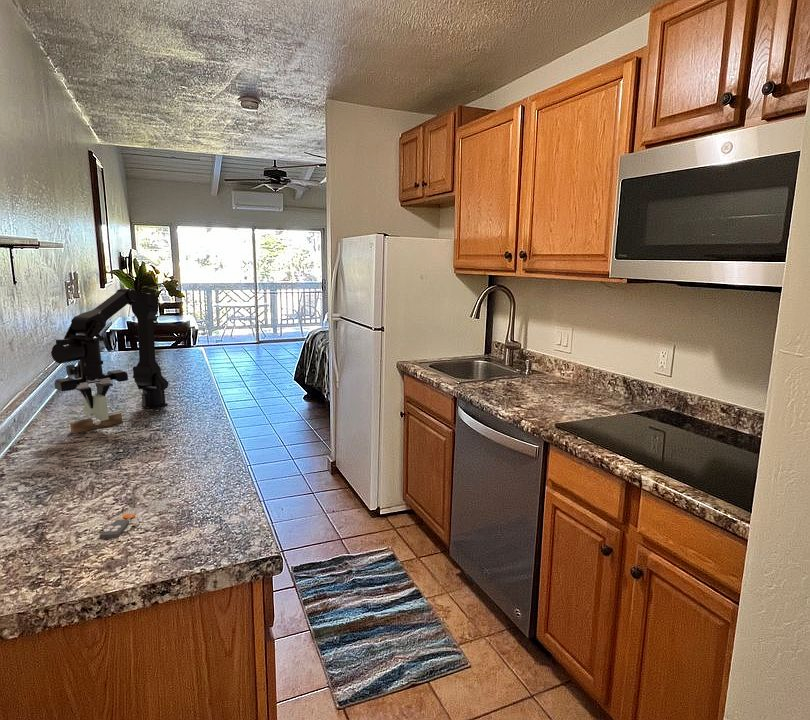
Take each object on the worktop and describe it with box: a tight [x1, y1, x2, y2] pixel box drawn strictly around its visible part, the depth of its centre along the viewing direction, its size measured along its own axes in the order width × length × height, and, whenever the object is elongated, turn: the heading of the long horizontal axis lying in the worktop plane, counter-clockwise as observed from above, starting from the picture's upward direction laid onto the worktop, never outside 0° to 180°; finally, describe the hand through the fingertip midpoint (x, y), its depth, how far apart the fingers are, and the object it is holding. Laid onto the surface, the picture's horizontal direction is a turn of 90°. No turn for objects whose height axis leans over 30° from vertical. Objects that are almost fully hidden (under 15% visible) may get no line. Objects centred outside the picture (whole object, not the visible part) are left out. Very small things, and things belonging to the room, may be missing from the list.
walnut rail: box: [69, 411, 123, 434], centre depth 160 cm, size 14×2×3 cm, turn 142°
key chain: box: [99, 510, 141, 539], centre depth 103 cm, size 13×4×2 cm, turn 3°
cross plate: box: [82, 391, 109, 422], centre depth 159 cm, size 12×2×7 cm, turn 52°
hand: (95, 407), depth 160 cm, fingers closed on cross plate, 2 cm apart
